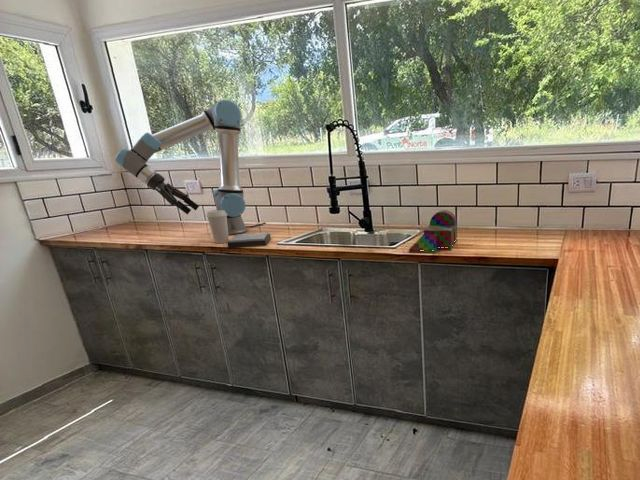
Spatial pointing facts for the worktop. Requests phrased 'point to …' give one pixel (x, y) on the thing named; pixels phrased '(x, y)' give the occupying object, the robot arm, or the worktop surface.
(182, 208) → the robot arm
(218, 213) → the coffee cup
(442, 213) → the block
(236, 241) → the kitchen scale
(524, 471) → the worktop surface
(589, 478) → the worktop surface
